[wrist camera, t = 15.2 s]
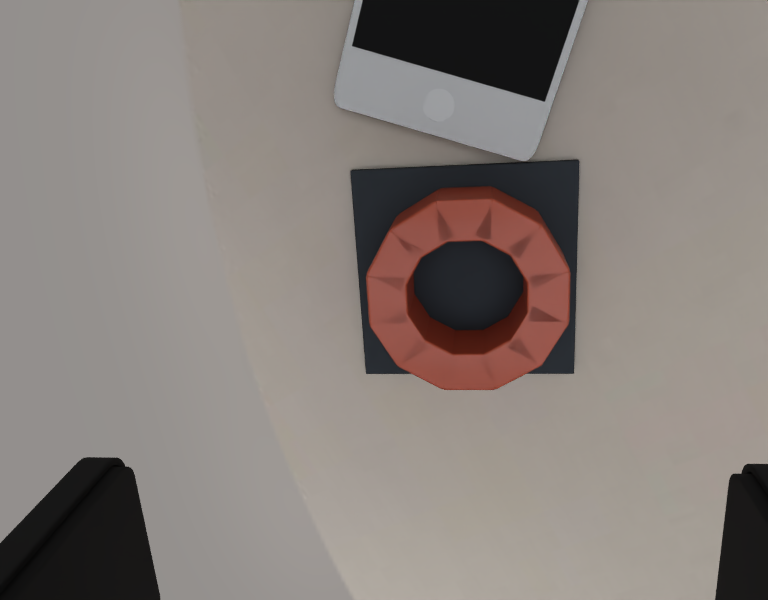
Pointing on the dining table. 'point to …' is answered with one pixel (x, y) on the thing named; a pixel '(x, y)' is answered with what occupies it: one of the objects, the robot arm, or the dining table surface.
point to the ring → (469, 347)
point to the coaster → (466, 247)
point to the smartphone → (459, 67)
